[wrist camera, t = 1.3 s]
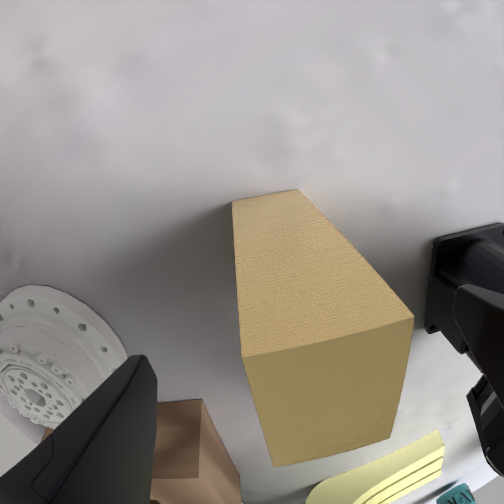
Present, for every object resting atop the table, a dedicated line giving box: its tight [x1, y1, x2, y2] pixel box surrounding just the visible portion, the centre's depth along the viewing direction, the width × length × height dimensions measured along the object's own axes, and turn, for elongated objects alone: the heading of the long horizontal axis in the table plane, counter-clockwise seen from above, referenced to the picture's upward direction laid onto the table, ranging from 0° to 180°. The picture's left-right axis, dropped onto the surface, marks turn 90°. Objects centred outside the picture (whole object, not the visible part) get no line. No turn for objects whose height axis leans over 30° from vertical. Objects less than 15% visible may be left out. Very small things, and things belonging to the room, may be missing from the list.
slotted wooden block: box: [41, 399, 242, 504], centre depth 18 cm, size 12×12×6 cm
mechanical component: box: [0, 285, 128, 429], centre depth 15 cm, size 10×4×10 cm
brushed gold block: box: [232, 189, 415, 467], centre depth 10 cm, size 3×4×10 cm
